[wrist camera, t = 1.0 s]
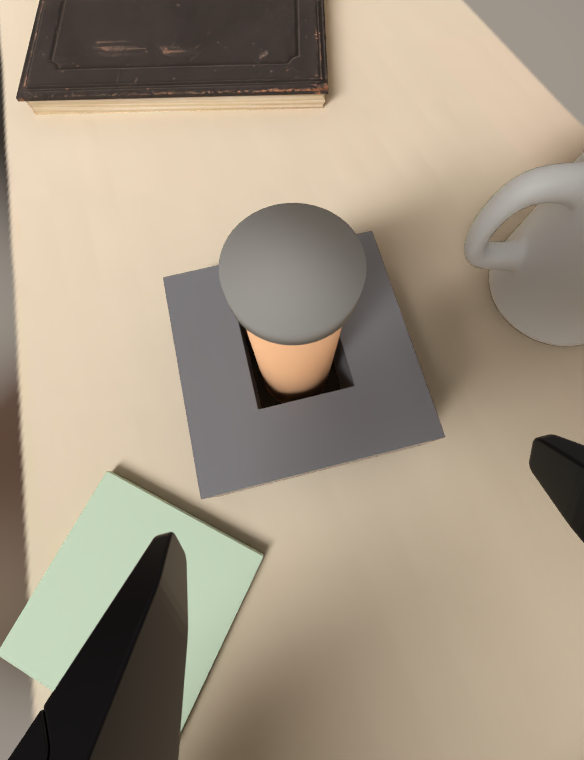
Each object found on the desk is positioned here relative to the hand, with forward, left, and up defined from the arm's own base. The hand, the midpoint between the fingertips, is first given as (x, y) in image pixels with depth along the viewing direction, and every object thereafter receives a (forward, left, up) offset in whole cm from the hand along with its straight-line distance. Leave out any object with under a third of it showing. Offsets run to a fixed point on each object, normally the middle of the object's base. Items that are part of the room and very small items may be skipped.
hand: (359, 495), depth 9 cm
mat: (+6, +10, -13) cm, 17 cm away
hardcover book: (+25, -27, -13) cm, 40 cm away
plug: (+4, -5, -13) cm, 14 cm away
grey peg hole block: (+4, -5, -13) cm, 14 cm away
